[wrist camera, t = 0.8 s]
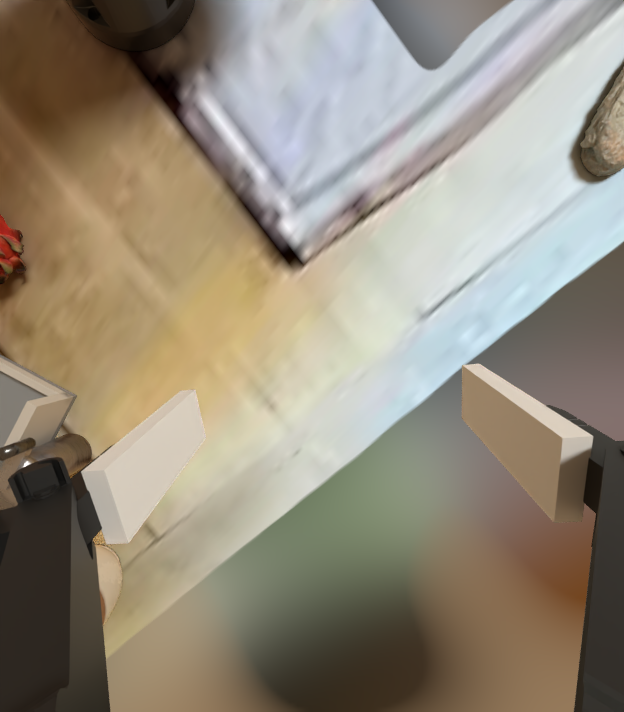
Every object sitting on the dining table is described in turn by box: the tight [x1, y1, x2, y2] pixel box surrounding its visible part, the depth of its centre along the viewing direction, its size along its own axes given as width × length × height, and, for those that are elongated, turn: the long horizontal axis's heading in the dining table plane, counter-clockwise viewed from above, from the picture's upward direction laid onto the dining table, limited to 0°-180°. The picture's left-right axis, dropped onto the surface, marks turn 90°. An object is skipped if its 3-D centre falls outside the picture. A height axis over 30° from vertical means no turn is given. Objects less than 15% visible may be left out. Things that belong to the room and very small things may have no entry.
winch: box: [0, 434, 92, 510], centre depth 35 cm, size 6×9×12 cm
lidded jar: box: [95, 545, 122, 626], centre depth 38 cm, size 11×11×9 cm
